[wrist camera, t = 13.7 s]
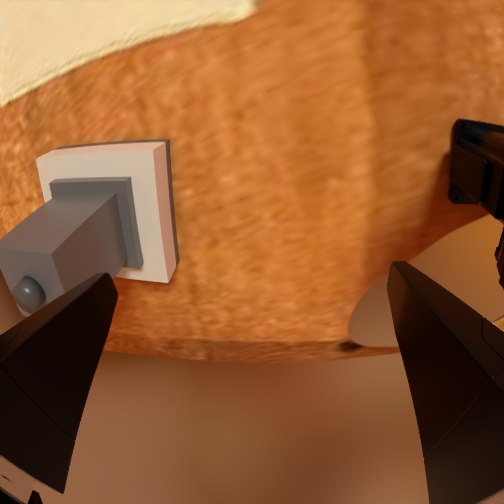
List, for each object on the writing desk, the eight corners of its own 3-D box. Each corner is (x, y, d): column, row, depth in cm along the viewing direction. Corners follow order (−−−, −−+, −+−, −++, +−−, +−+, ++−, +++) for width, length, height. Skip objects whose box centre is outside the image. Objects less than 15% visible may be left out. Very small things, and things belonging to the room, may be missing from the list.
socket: (169, 139, 20) (151, 151, 17) (179, 260, 25) (167, 285, 22) (58, 147, 20) (33, 160, 18) (80, 251, 26) (62, 272, 23)
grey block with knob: (143, 167, 20) (46, 252, 11) (153, 248, 24) (89, 356, 14) (70, 169, 20) (-31, 242, 11) (85, 242, 24) (11, 331, 15)
